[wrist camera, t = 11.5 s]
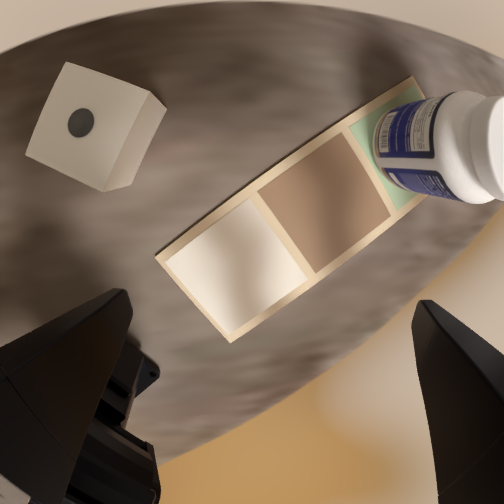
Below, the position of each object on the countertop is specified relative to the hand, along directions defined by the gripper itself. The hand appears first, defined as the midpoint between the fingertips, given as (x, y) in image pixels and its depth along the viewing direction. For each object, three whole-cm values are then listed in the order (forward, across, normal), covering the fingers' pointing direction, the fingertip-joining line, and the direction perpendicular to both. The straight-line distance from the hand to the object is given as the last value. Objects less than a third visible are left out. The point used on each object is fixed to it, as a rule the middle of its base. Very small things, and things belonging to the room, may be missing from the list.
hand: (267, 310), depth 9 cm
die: (+10, +10, -5) cm, 15 cm away
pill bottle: (+14, -8, -3) cm, 16 cm away
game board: (+12, -3, +1) cm, 12 cm away
